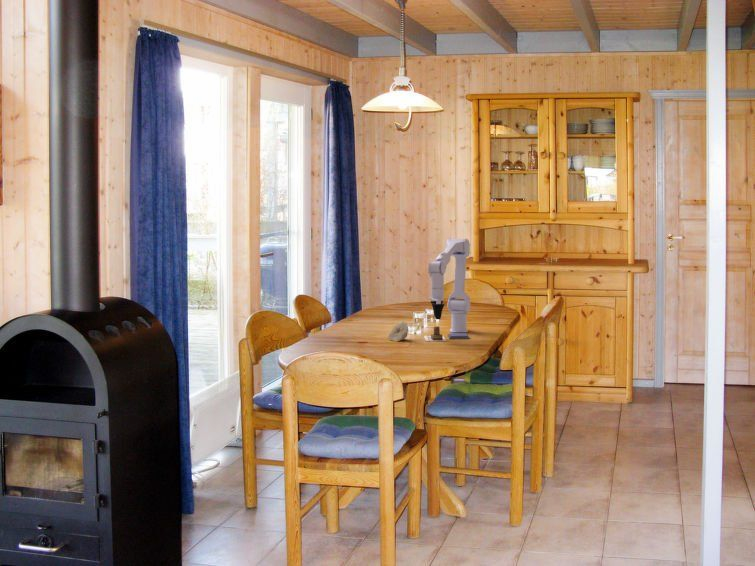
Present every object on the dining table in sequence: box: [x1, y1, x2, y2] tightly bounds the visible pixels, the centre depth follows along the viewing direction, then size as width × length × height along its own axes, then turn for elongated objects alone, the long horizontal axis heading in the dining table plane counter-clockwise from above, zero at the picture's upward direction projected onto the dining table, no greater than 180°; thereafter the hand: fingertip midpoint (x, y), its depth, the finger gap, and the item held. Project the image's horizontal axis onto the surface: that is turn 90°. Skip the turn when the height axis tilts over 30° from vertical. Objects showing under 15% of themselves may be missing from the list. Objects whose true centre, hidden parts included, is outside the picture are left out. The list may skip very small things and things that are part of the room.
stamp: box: [430, 325, 444, 340], centre depth 422 cm, size 4×4×6 cm
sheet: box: [423, 335, 447, 342], centre depth 426 cm, size 14×9×1 cm, turn 1°
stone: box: [387, 321, 409, 342], centre depth 423 cm, size 10×7×10 cm
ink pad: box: [447, 332, 470, 340], centre depth 428 cm, size 9×9×1 cm
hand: (437, 317), depth 422 cm, fingers open, 7 cm apart
